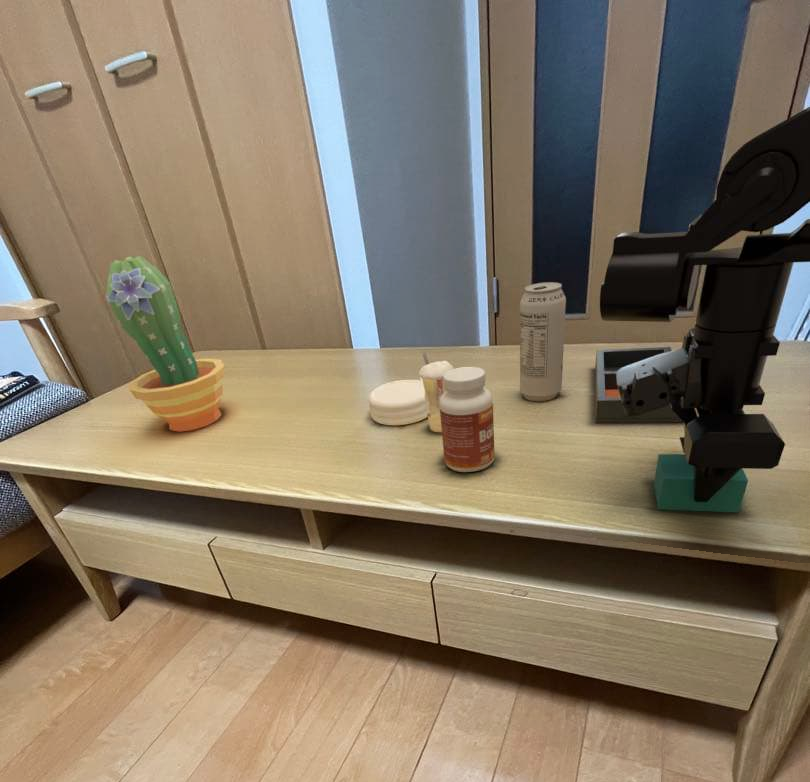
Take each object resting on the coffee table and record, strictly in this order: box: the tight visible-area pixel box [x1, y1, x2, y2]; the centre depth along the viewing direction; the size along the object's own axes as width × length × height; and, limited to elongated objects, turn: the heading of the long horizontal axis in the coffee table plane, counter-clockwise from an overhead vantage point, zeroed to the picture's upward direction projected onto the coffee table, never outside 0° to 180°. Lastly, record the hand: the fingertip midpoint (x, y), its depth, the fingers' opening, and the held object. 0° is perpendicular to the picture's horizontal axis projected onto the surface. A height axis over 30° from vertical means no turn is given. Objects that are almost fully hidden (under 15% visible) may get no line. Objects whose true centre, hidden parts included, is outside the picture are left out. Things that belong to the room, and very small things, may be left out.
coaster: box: [367, 379, 428, 426], centre depth 78 cm, size 10×10×4 cm
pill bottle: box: [439, 366, 495, 473], centre depth 61 cm, size 6×6×11 cm
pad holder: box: [594, 346, 684, 424], centre depth 73 cm, size 20×10×3 cm, turn 164°
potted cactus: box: [105, 254, 226, 432], centre depth 81 cm, size 15×15×25 cm
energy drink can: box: [519, 281, 567, 402], centre depth 73 cm, size 6×6×15 cm
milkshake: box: [418, 351, 455, 434], centre depth 70 cm, size 5×5×10 cm
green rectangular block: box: [653, 453, 749, 513], centre depth 51 cm, size 7×5×4 cm
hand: (696, 486), depth 51 cm, fingers closed on green rectangular block, 5 cm apart
